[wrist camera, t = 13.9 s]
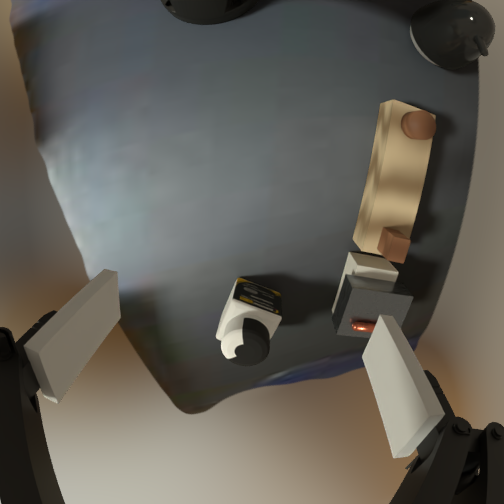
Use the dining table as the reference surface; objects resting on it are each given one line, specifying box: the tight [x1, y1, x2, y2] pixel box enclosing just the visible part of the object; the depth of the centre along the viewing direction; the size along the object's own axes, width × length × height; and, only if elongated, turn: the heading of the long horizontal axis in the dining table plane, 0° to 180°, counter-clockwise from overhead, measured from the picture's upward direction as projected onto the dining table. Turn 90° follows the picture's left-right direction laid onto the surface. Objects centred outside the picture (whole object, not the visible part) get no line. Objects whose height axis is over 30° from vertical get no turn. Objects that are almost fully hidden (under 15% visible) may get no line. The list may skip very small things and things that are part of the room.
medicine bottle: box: [216, 278, 282, 366], centre depth 41 cm, size 7×7×12 cm
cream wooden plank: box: [353, 100, 436, 263], centre depth 34 cm, size 20×6×9 cm, turn 171°
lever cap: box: [332, 274, 413, 338], centre depth 37 cm, size 7×9×5 cm
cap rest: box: [332, 252, 399, 313], centre depth 42 cm, size 10×6×5 cm, turn 171°
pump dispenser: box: [410, 0, 495, 69], centre depth 23 cm, size 10×10×15 cm
